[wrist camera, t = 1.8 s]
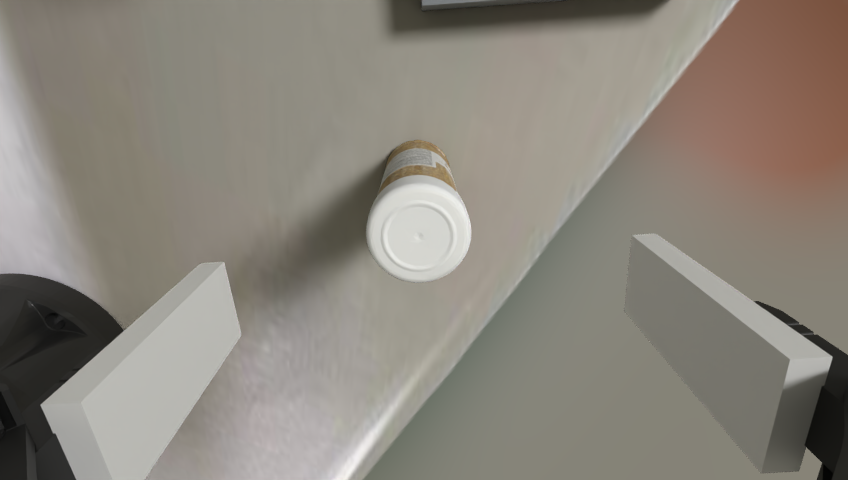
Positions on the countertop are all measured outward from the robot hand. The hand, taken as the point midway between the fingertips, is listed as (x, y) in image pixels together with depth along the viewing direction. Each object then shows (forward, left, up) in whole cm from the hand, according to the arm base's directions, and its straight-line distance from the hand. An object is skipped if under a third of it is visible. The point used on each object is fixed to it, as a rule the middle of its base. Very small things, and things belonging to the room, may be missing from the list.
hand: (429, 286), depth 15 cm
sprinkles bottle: (0, 0, -18) cm, 18 cm away
